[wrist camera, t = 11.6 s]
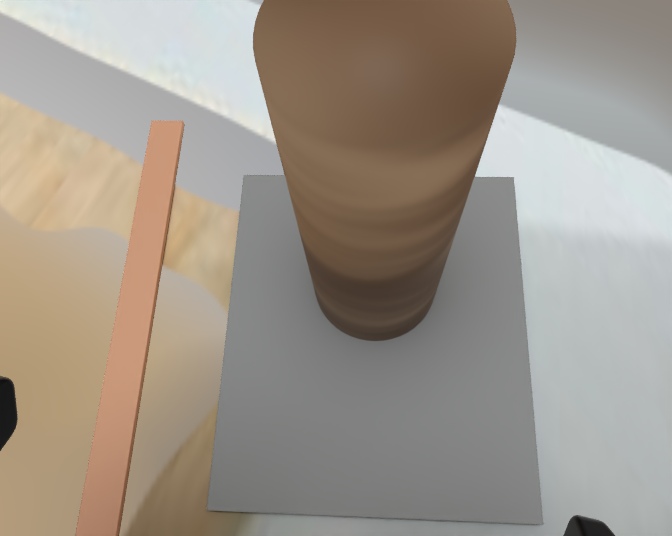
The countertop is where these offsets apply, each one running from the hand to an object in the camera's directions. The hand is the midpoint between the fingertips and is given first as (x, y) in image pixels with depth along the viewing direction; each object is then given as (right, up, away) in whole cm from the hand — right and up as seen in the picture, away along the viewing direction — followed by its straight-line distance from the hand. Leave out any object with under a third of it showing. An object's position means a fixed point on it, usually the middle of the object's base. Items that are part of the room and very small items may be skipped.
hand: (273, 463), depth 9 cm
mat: (+3, 0, +15) cm, 15 cm away
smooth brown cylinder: (+3, +2, +15) cm, 15 cm away
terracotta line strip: (-7, +1, +15) cm, 17 cm away
